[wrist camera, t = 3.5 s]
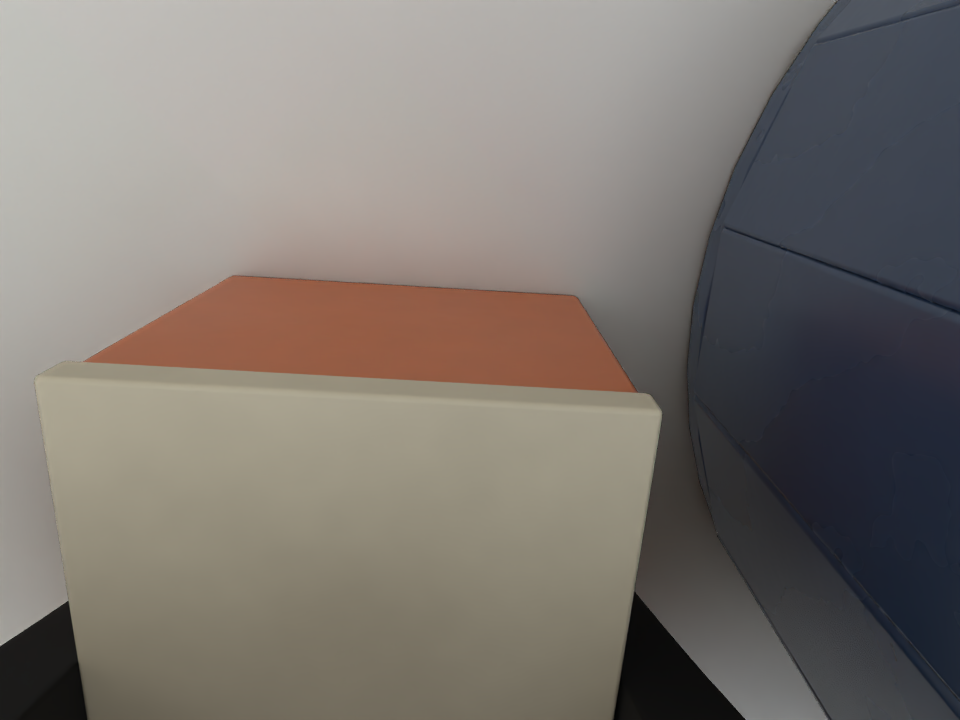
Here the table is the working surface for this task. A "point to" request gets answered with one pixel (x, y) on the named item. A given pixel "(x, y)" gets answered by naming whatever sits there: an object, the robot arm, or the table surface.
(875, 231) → the lunch tin
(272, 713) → the snack box
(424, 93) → the table surface
